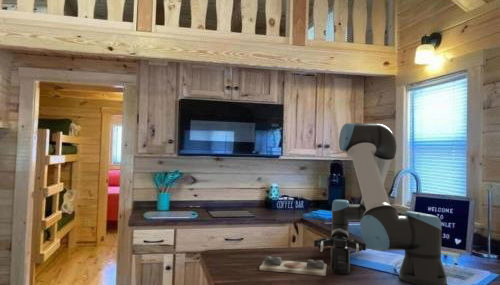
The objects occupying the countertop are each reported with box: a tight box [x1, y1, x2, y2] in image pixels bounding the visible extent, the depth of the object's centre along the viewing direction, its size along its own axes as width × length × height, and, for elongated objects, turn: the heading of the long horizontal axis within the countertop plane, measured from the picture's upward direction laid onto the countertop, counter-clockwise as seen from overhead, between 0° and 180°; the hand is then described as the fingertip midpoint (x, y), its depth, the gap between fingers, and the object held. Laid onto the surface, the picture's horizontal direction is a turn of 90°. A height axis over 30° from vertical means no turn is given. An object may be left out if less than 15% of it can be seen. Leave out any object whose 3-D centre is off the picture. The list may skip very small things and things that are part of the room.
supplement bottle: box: [330, 238, 351, 276], centre depth 144 cm, size 7×7×12 cm
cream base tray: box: [258, 255, 328, 277], centre depth 148 cm, size 24×12×3 cm, turn 77°
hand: (339, 249), depth 150 cm, fingers open, 13 cm apart
